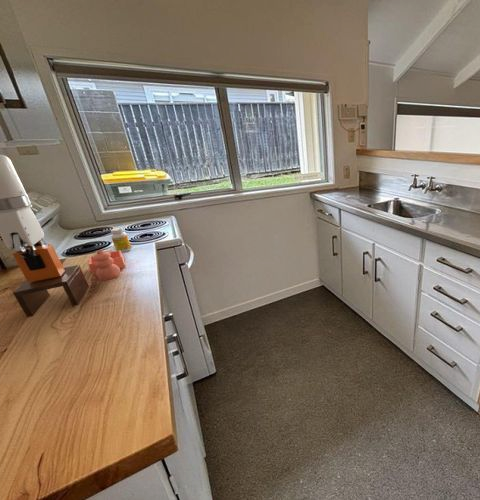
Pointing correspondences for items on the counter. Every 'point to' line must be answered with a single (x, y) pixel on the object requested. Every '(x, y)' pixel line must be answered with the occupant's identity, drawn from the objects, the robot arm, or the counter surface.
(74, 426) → the counter surface
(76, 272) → the shelf
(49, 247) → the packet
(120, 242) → the supplement bottle
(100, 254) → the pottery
